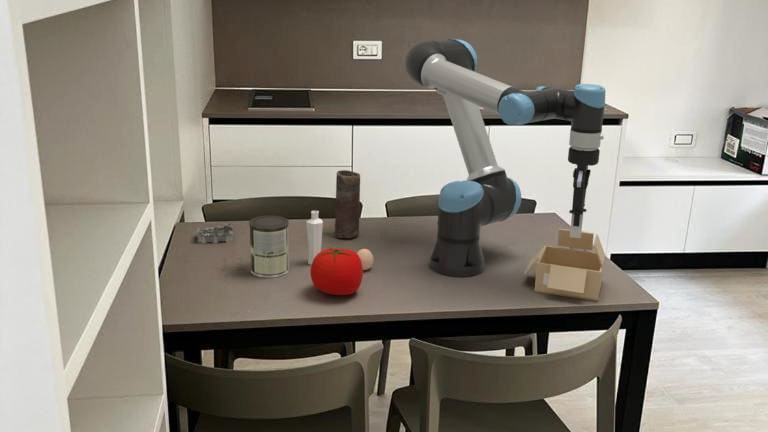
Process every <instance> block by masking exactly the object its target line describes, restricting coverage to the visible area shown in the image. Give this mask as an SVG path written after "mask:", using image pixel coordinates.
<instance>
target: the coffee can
mask: <svg viewBox="0 0 768 432" xmlns="http://www.w3.org/2000/svg"><path fill="white" fill-rule="evenodd" d="M248 225H249V240H250V241H249V243H250V245H249V246H250V272H251V274H252V275H253V276H255V277H258V278H264V279H268V278H269V279H270V278H271V279H272V278H279V277H282V276H284V275H287V274H288V273H289V270H290V268H289V219H288V218H286V217H285V216H284V217H283V216H280V215H273V214H272V215H270V214H269V215H260V216H256V217H252V218H251V219H250V220H249V221H248Z"/></svg>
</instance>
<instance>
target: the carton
mask: <svg viewBox="0 0 768 432" xmlns="http://www.w3.org/2000/svg"><path fill="white" fill-rule="evenodd" d="M605 259H606V257H605V258H604V262H603V266H601V264H600V261H599V258H598V255H597V253H596V251H590V250H587V251H582V250H574V249H570V248H568V247H561V246H559V247H558V246H551V245H544V246H543V251H542V253H541V255H540V258H539V259H538V261H537V262H536V272H535V281H534V282H535V283H534V290H533V291H534V293H540V294H546V295H553V296H561V297H565V298H572V299H573V298H574V299H578V300H579V299H580V300H584V299H585V300H586V301H592V302H597V303H598V301H599V296H600V292H601V287H602V283H603V277H604V268H605ZM551 265H558V266H565V267H572V268H578V269H585V270H587V274H586V281H585V287H584V293H578V292H571V291H565V290H558V289H552V288H547V286H548V279H549V273H550V267H551ZM585 300H584V301H585Z"/></svg>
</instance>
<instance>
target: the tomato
mask: <svg viewBox="0 0 768 432" xmlns="http://www.w3.org/2000/svg"><path fill="white" fill-rule="evenodd" d="M357 253H358V252H355V251H354V250H351V249H348V248H342V247H341V248H340V247H328V248H325V249H322V250H321V252H320V253H318V254H317V255H316V257H315V258H314V260H313V262H312V265H310V277H311V282H312V284H313V286H314V287H315V288H316V289H317V290H319V291H320V292H322V293H324V294H329V295H334V296H347V295H351V294H353V293H355V292H357V290H359V288H360V286H361V283H362V281H363V276H364V270H363V268H362V263H361V259H360V257H359V255H358V254H357Z"/></svg>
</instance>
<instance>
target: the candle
mask: <svg viewBox="0 0 768 432" xmlns="http://www.w3.org/2000/svg"><path fill="white" fill-rule="evenodd" d="M335 183H336V184H335V188H336V190H335V214H334V215H335V217H334V218H335V219H334V229H335V230H334V237H336V238H338V239H341V238H342V239H352V238H355V237H357V236H358V235H359V234H360V212H361V211H360V208H361V207H360V206H361V205H360V204H361V202H360V201H361V200H360V199H361V174H360V173H358V172H355V171H351V170H348V169H343V170H338V171H337V172H336V182H335Z"/></svg>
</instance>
